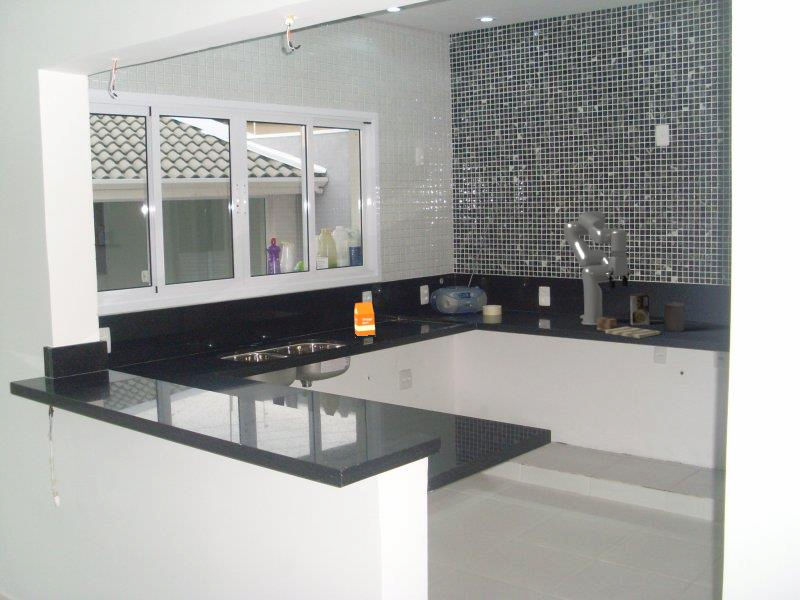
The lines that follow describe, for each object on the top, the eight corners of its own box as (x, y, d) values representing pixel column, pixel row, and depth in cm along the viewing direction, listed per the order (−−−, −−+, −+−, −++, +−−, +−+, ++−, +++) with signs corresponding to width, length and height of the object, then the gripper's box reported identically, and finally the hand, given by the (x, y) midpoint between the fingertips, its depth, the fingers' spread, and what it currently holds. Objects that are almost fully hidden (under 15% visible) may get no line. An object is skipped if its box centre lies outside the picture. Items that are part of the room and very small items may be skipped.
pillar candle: (660, 330, 442) (660, 301, 440) (672, 327, 448) (672, 299, 446) (676, 332, 434) (676, 303, 432) (688, 330, 440) (688, 300, 438)
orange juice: (375, 341, 450) (373, 302, 447) (359, 342, 447) (356, 304, 445) (371, 338, 457) (369, 301, 454) (355, 340, 455) (353, 302, 452)
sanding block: (597, 329, 453) (596, 318, 453) (603, 328, 456) (603, 317, 455) (610, 331, 446) (609, 320, 445) (616, 330, 449) (616, 319, 448)
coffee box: (647, 323, 466) (647, 293, 464) (649, 325, 460) (649, 294, 457) (630, 323, 467) (629, 293, 465) (632, 325, 461) (631, 295, 458)
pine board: (605, 333, 442) (605, 330, 442) (625, 329, 450) (625, 326, 450) (639, 338, 424) (639, 335, 423) (659, 334, 432) (659, 331, 432)
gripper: (624, 252, 450) (624, 284, 452) (601, 255, 440) (601, 288, 442) (635, 253, 444) (635, 286, 446) (612, 256, 434) (612, 290, 436)
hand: (618, 287), depth 444 cm, fingers open, 9 cm apart
